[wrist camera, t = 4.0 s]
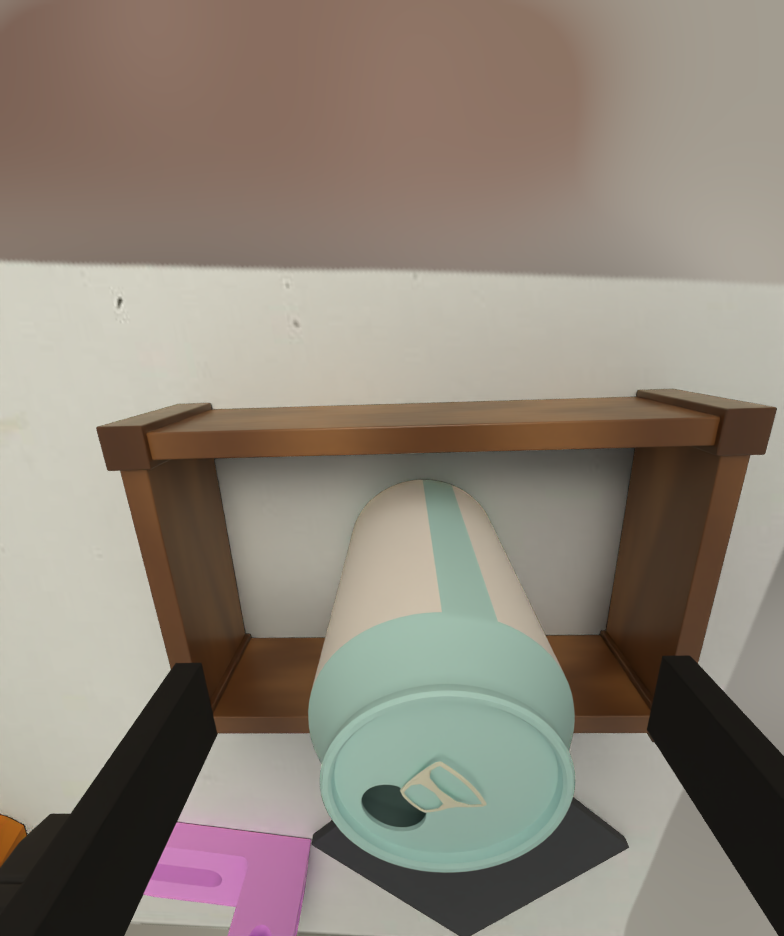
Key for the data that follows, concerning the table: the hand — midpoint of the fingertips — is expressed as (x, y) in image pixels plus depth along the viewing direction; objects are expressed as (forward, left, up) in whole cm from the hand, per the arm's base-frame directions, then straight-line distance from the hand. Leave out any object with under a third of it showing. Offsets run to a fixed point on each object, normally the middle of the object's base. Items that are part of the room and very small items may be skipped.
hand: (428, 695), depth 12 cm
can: (0, 0, -10) cm, 10 cm away
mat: (+14, +18, -9) cm, 25 cm away
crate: (0, 0, -9) cm, 9 cm away
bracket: (+28, +7, -10) cm, 30 cm away
